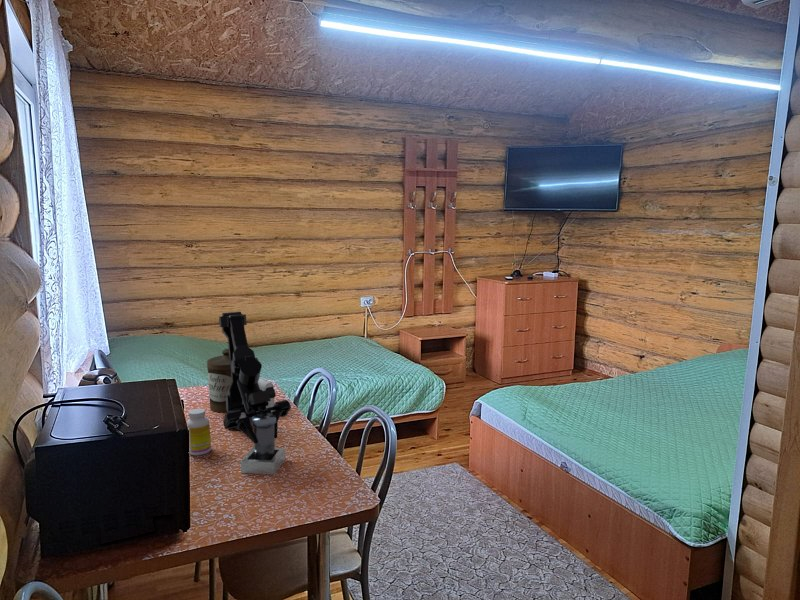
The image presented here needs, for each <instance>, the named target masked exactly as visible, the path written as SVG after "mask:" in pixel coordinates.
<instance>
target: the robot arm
mask: <svg viewBox="0 0 800 600" xmlns="http://www.w3.org/2000/svg"><path fill="white" fill-rule="evenodd" d="M218 325H219V328H221V332H222V334H223V335H224V336H225V338H226V339H227V347H228V348H227V349H229V358H230V368H231V378H232V383H231V385H230V387H229V389H228V395H227V397H226V409H227V413H225V416H224V417H223V420H222V422H223V423H222V424H223V427H224V430H228V431H241V432H242V433H243V434H245V435H246V437H248V438H249V440H251V442H252V443H253V445H254V444H256V443H257V441H256V437H255V434H254V428H252V426H254V425H253V424H252V417H253V416H254V415H256V414H260V413H272V414H274V415H276V423H275V424H274V433H275V440H276V439H277V438H278V426H279V425H278V424H279V423H278V422H279V419H280V418H283V417H286V416H287V415H288V414H289V411H290V410H291V408H292V405H291V403H290V401H289V400H287V399H284V400H279V401H274V406H273V407H270V408H266V406H268V404H269V403H268V401H271V400H270V399H271V398H274V399H275V398H276V396H277V395H276V391H275V388H274V386H273V387H268V388H266V391H262V389H261V390H260V387H259V384H258V381H259V377H260V376H261V372H262V371H261V370H262V367H263V366H262V363H261V361H259V359H258V357H256V355H255V352H254V350H253V349H252V348H250V347H249V345H248V344H249V343H248V339H247V334H246V328H245V326H247V325H248V323H247V314H245V313H242V312H241V311H232V312H231V311H230V312H222V313H221V315H220V316H218ZM230 406H231V407H230Z"/></svg>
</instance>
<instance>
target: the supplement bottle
mask: <svg viewBox="0 0 800 600" xmlns="http://www.w3.org/2000/svg"><path fill="white" fill-rule="evenodd" d="M205 415H206V409H204V408H194V409H190V410H189V411H188V417H189V418H188V420H187V421H186V422H187V425H188V428H189V440H190V454H189V455H192V456H202V455H206V454H208V453H210V451H211V450H212V441H211V440H212V439H211V427H210V425H211V424H210V420H209V418H208V417H206V416H205Z"/></svg>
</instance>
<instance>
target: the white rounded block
mask: <svg viewBox="0 0 800 600" xmlns="http://www.w3.org/2000/svg"><path fill="white" fill-rule="evenodd" d="M258 384H259V387H260V390H261V389H262V391H266V388H268V387H273V388H274V384H273V383H272V382H271V381H270V380H269V379H267V378H265V377H259V381H258ZM270 400H271V401H268V403H269V404H268V406H266V408H270V407H273V406H274V404H275V397H274V398H271V399H270Z"/></svg>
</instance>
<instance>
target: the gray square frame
mask: <svg viewBox="0 0 800 600" xmlns="http://www.w3.org/2000/svg"><path fill="white" fill-rule="evenodd" d="M284 460H285V461H286V448H285V447H275V456H274V457H273V458H272V460H255V447H254V446H253V447H252V448H250V450H249V451H248V452H247V453H246V454H245V455H244V457H243V458H242V459H241V460H240V474H256V475H276V473H277V472H278V470H279V469H280V468H281V466H282V465H283V463H284V462H285V461H284Z"/></svg>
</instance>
